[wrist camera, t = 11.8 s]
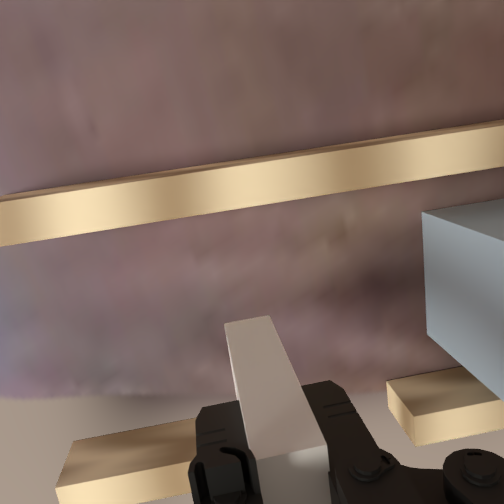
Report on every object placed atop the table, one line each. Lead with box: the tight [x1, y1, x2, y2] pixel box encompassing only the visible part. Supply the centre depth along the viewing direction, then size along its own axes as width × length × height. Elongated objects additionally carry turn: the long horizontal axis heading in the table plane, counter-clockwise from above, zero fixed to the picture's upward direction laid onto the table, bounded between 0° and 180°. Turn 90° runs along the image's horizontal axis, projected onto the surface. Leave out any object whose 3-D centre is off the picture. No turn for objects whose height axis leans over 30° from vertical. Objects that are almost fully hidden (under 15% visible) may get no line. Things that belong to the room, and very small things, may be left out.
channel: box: [0, 119, 504, 504], centre depth 20 cm, size 28×13×4 cm, turn 98°
